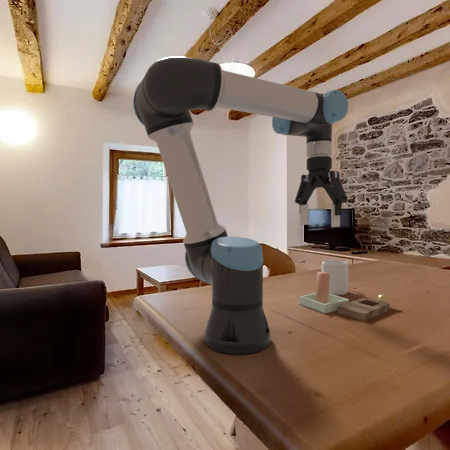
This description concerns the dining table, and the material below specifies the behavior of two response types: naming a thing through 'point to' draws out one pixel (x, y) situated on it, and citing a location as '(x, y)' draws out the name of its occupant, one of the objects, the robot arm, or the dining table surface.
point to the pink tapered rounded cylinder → (323, 287)
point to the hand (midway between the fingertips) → (319, 225)
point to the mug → (336, 276)
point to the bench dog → (383, 298)
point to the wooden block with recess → (363, 309)
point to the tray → (323, 308)
